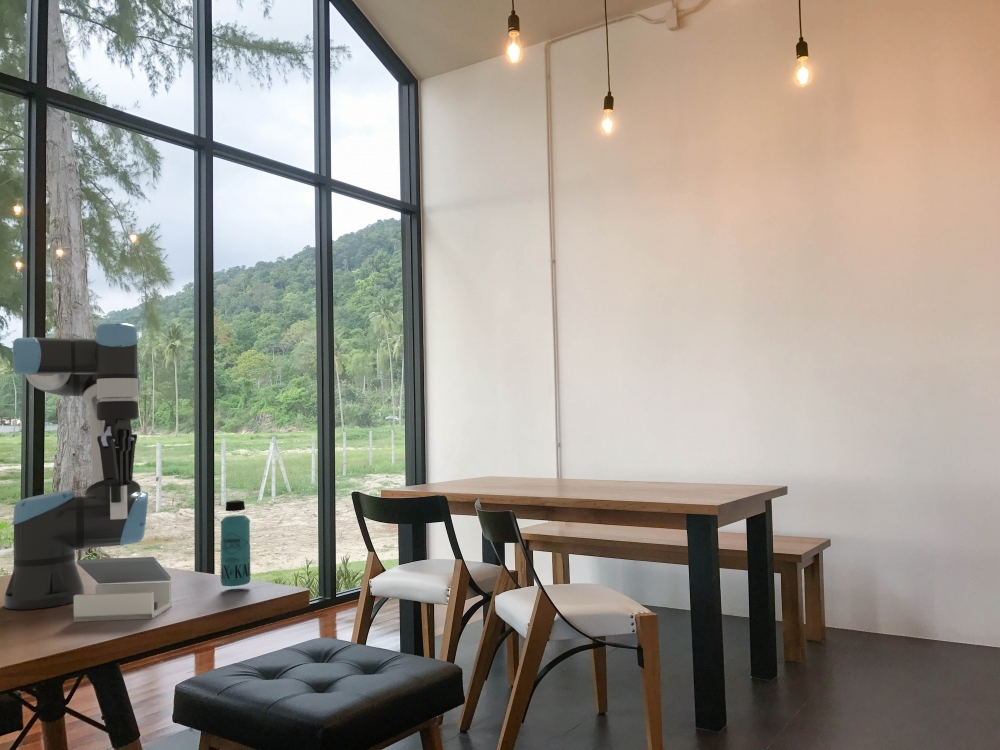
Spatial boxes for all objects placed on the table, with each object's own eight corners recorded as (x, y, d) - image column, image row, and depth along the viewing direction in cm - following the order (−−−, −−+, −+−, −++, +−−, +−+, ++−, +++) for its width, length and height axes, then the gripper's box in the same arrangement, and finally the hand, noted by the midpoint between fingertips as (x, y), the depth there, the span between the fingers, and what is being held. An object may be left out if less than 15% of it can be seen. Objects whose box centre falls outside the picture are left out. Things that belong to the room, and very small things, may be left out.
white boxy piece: (98, 609, 164) (97, 584, 164) (171, 606, 165) (171, 581, 165) (73, 621, 154) (73, 596, 154) (152, 618, 155) (151, 592, 155)
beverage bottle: (220, 588, 180) (218, 500, 181) (250, 585, 182) (249, 498, 183) (221, 594, 174) (219, 503, 175) (252, 591, 176) (251, 500, 177)
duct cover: (98, 583, 164) (99, 579, 165) (170, 580, 165) (170, 577, 165) (77, 563, 156) (78, 559, 156) (152, 560, 156) (153, 556, 157)
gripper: (113, 401, 166) (114, 515, 165) (82, 400, 153) (83, 524, 152) (149, 400, 166) (151, 513, 165) (122, 399, 153) (123, 522, 152)
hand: (118, 518), depth 158 cm, fingers closed
